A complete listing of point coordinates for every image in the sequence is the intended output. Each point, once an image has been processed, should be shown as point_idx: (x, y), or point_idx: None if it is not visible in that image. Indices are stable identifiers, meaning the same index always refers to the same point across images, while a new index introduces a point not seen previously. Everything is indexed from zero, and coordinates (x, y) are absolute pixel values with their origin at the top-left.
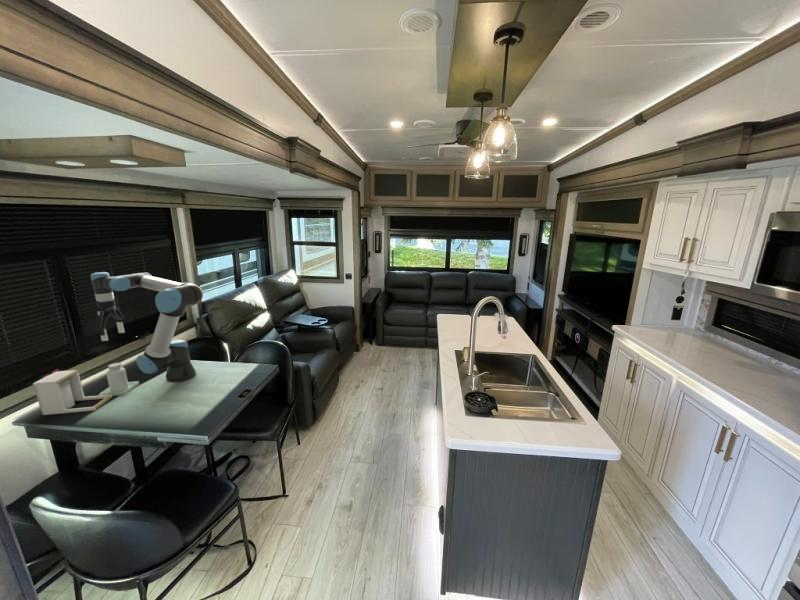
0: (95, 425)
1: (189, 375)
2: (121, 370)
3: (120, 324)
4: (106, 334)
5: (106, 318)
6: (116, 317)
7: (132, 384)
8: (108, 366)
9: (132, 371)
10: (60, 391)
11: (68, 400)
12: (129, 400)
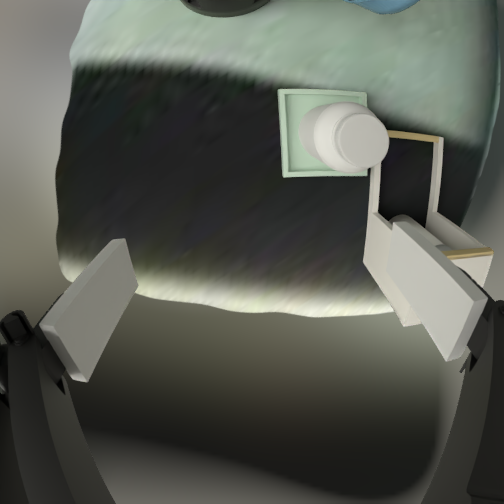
0: (490, 96)
1: None
2: (360, 106)
3: (81, 320)
4: (435, 255)
5: (496, 486)
6: (68, 448)
7: (286, 109)
8: (381, 160)
9: (153, 202)
10: (466, 235)
11: (419, 224)
12: (400, 62)
